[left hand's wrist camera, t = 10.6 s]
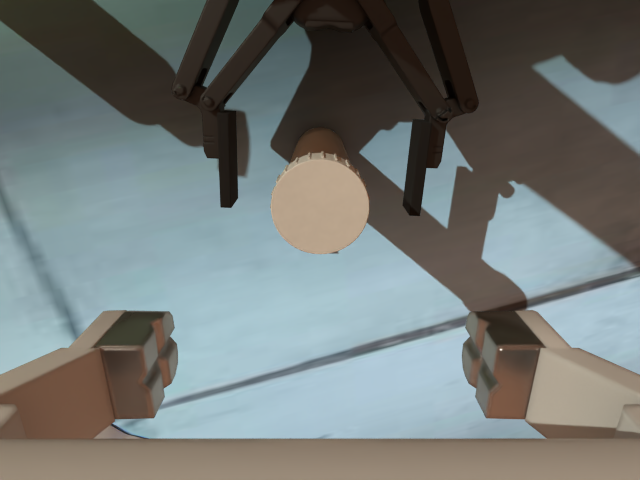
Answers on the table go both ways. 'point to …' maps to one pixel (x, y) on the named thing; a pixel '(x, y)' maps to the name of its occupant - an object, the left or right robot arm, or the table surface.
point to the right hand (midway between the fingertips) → (320, 207)
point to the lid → (320, 203)
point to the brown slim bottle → (319, 144)
